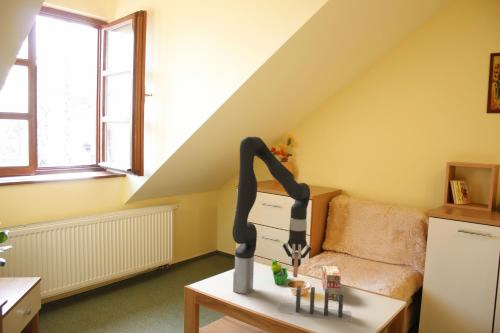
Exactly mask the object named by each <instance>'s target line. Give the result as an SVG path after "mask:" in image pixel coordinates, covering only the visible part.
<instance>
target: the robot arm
mask: <svg viewBox="0 0 500 333" xmlns="http://www.w3.org/2000/svg"><path fill="white" fill-rule="evenodd" d="M255 157H257V158H258V159H260V160H261V161H262V162H263V163H264V164H265V165H266V167H267V169H268V171H269V173H270V174H271V176H272V177H273V178H274V180H276V181H277V182H278V183H279V184H280V185H281V186H282V187H283V189H284V190H285V192H286V193H287V195H288V196H289V197H290V198H291V199H293V200H294V203H293V205H291V207H290V218H289V219H290V220H289V229H288V230H289V231H288V240H287V242H285V243H283V244H282V248H283V250H284V251H285V254H286V255H287V257H290V258H291V265H292V268H294V258H295V252H298V268H299V267H300V266H301V264H302V259H305V258H306V257H307V256H308V254H309V253H310V251H311V250H312V247H313V246H312V245H309V244H308V242H307V229H308V221H307V218H308V216H307V214H308V210H307V209H308V206H309V202H310V199H311V198H310V197H311V189H310V186H309V185H308V183H305V182H299V183H298V182H297V181H296V180H295V175H294V174H293V172H291V171H290V169H289V168H287V167H286V166H285V165H284V164H283V163H282V162H281V161H280V160H279V158H277V157H276V155H275V154H274V153H273V152H272V151H271V150H270V148H269V147H268V146H267V144H266V143H265V142H264V140H263V139H262V138H261V137H258V136H245V137H243V138H242V140H240V143H239V169H238V170H239V172H238V173H239V174H238V185H237V194H236V195H237V196H236V199H237V200H236V208H235V215H234V220H233V225H232V240H233V241H234V242H235V243H236V244H239V246H238V247H237V248H236V249H235V252H234V271H233V275H232V277H233V281H232V292H235V293H237V294H251V293H252V292H254V291H253V290H254V272H255V271H254V268H255V267H254V265H255V263H254V262H255V253H256V250H257V240H258V231H257V227H256V225H255V224H254V223H252V222H250V221H249V222H248V219H249V215H250V212H251V210H252V209H253V207H254V205H255V202H256V199H257V195H258V180H257V177H256V173H255V170H254V163H255V162H254V161H255ZM289 248H290V249H291V251H292V252H291V251H290V249H289ZM304 249H305V251H304V252H303V253H302V251H303V250H304Z"/></svg>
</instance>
